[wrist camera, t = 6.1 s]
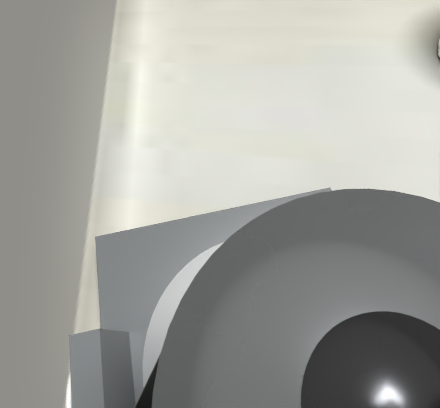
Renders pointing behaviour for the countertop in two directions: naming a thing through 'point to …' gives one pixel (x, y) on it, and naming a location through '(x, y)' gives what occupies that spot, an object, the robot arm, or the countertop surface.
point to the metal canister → (313, 310)
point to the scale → (144, 300)
